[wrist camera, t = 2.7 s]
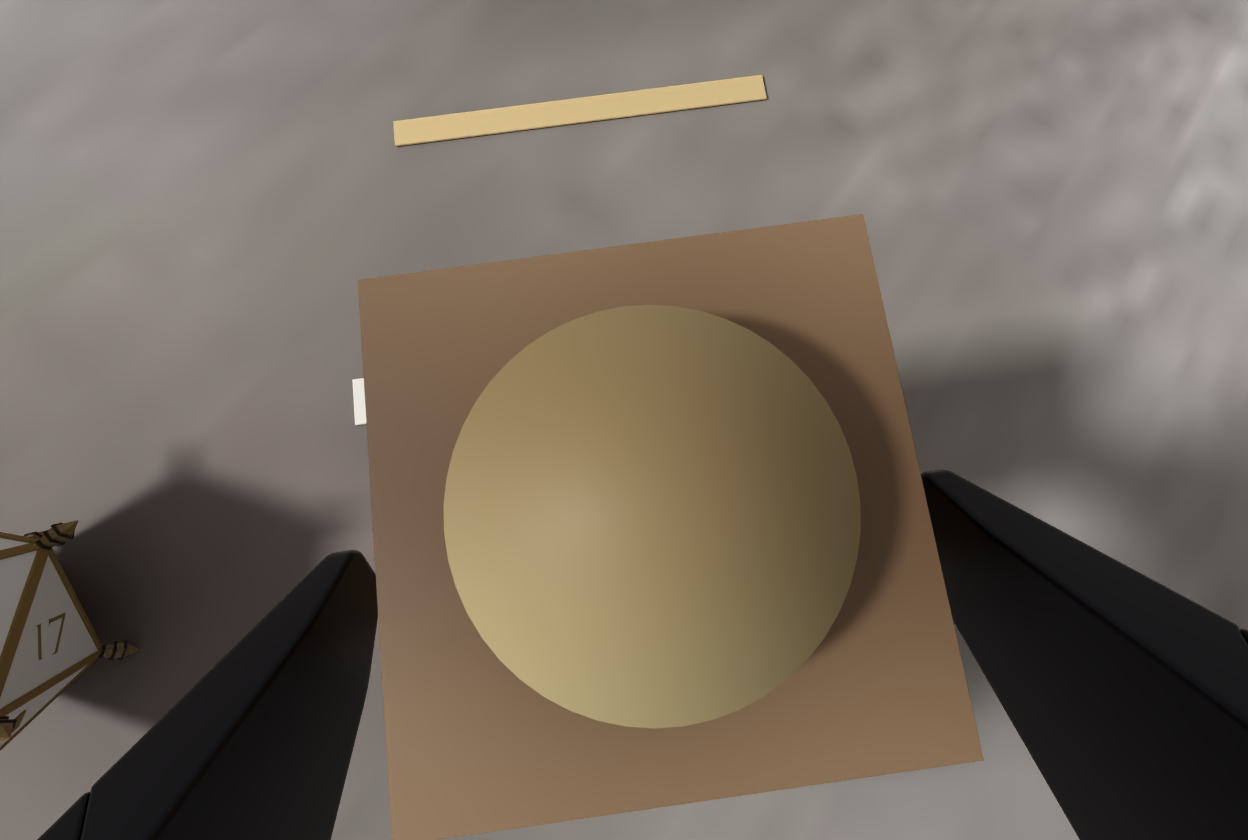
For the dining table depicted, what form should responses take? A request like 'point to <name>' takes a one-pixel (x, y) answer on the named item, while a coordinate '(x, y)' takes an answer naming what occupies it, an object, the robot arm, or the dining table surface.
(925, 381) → the dining table surface
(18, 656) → the game die
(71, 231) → the dining table surface
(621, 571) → the walnut block
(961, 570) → the robot arm
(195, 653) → the dining table surface
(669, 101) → the strip
